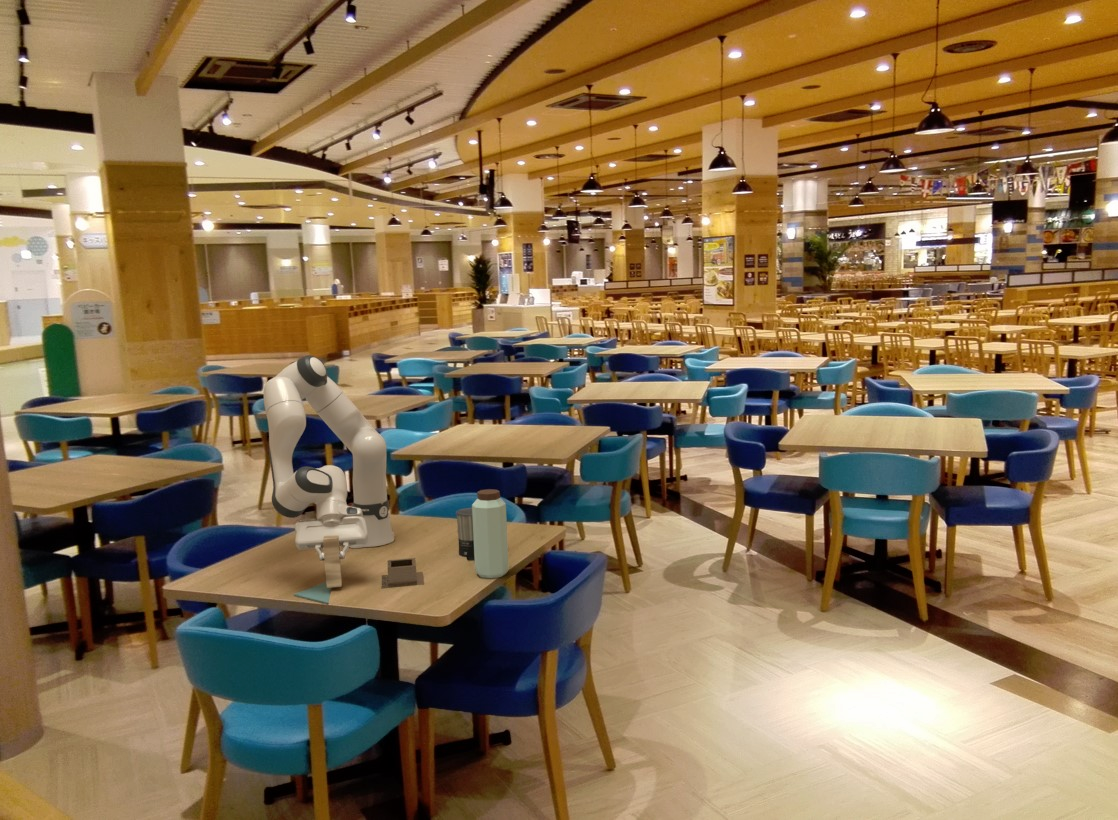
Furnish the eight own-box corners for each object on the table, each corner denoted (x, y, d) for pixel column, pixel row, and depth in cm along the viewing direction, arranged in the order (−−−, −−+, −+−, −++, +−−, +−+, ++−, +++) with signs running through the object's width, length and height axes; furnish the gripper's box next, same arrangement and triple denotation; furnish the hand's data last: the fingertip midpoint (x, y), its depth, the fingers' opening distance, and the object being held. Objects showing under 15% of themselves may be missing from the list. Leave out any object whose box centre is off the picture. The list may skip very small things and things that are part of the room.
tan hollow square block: (381, 578, 257) (380, 559, 257) (422, 574, 260) (421, 555, 259) (381, 591, 246) (380, 571, 245) (424, 587, 248) (423, 567, 247)
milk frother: (454, 560, 273) (452, 514, 271) (466, 545, 288) (463, 502, 286) (499, 560, 271) (497, 514, 269) (508, 546, 287) (506, 502, 285)
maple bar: (327, 583, 248) (323, 535, 246) (342, 581, 249) (338, 534, 247) (326, 587, 244) (323, 539, 243) (341, 586, 245) (337, 538, 243)
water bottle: (477, 569, 263) (473, 488, 260) (510, 568, 263) (506, 487, 260) (473, 579, 253) (469, 496, 250) (507, 579, 253) (503, 495, 250)
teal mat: (293, 595, 245) (293, 594, 245) (337, 579, 258) (337, 577, 258) (332, 605, 236) (332, 603, 236) (375, 588, 249) (375, 586, 249)
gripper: (293, 514, 249) (292, 557, 241) (366, 508, 253) (368, 550, 245) (296, 525, 254) (295, 567, 246) (368, 519, 258) (369, 561, 249)
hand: (332, 559), depth 245 cm, fingers closed on maple bar, 4 cm apart
